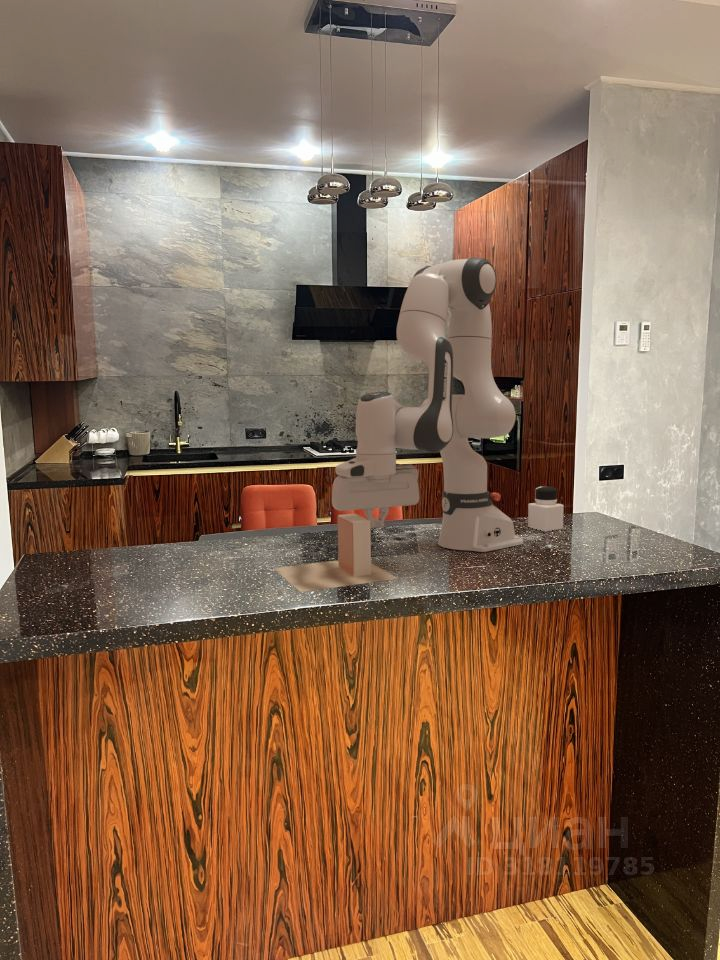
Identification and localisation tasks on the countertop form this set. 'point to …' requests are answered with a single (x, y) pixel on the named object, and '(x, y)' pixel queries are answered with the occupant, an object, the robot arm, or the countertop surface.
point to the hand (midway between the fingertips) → (376, 527)
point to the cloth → (328, 576)
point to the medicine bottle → (545, 510)
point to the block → (354, 544)
